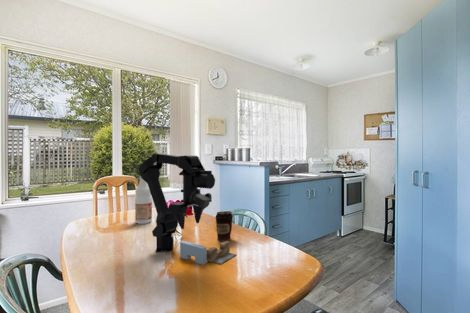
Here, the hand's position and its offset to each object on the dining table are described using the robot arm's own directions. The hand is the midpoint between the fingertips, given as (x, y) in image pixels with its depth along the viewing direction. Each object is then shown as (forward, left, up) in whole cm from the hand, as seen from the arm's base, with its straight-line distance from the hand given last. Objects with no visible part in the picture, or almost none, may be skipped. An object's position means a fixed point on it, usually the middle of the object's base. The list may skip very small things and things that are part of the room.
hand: (190, 225), depth 98 cm
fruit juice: (-28, +57, -12) cm, 65 cm away
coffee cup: (+16, +17, -12) cm, 26 cm away
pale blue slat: (+1, -4, -12) cm, 13 cm away
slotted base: (+11, -3, -12) cm, 17 cm away
